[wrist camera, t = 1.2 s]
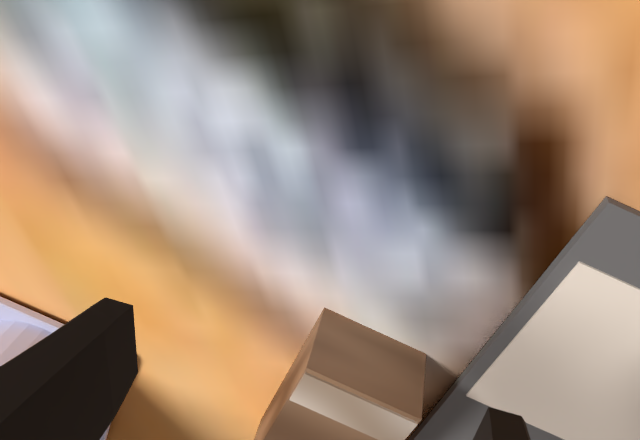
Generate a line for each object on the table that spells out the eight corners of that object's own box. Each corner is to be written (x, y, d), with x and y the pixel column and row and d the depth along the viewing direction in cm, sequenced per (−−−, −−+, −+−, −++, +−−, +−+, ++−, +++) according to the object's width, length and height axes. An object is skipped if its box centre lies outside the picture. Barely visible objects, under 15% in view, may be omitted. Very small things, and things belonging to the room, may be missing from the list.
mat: (620, 562, 27) (622, 573, 27) (389, 461, 27) (388, 471, 27) (941, 350, 19) (952, 361, 18) (606, 196, 18) (609, 204, 18)
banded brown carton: (348, 453, 28) (334, 525, 25) (262, 415, 28) (238, 482, 25) (426, 350, 23) (421, 422, 20) (325, 303, 23) (305, 369, 20)
